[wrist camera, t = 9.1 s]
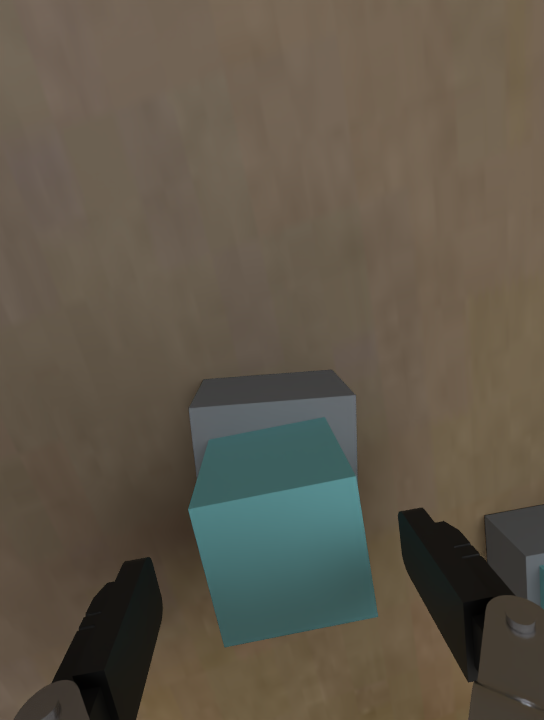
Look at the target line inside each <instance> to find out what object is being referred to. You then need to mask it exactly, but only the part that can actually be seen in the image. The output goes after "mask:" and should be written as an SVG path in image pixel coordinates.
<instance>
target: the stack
mask: <svg viewBox="0 0 544 720" xmlns="http://www.w3.org/2000/svg"><path fill="white" fill-rule="evenodd" d="M485 530H486V546H487V562H488V564H489V565H490V567H491V568H492V569H493V570H494V571H495V572H496V573H497V575H498V576H499V577H500V578H501V579H502V580H503V582H504V583H505V584H506V585H507V586H508V587H509V589H510V590H511V591H512V592H513V593H514V594H515V596H518V597H522V598H525V599H527V600H529V601H532V602H534V603H535V604H537V605H539V606H540V607H541V608H543V609H544V505H539V506H534V507H528V508H523V509H518V510H512V511H507V512H501V513H496V514H491V515H485Z"/></svg>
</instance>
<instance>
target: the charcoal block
mask: <svg viewBox="0 0 544 720" xmlns="http://www.w3.org/2000/svg"><path fill="white" fill-rule="evenodd" d="M189 415H190V424H191V432H192V441H193V450H194V458H195V467H196V476H197V478H198V475H199V471H200V468H201V464H202V461H203V458H204V454H205V451H206V448H207V444H208V441H209V440H210V439H215V438H220V437H226V436H231V435H236V434H241V433H246V432H251V431H256V430H261V429H266V428H271V427H276V426H282V425H287V424H292V423H297V422H302V421H307V420H312V419H317V418H322V417H325V418H326V420H327V422H328V424H329V426H330V428H331V430H332V432H333V434H334V435H335V437H336V439H337V441H338V443H339V445H340V447H341V449H342V451H343V452H344V454H345V456H346V458H347V460H348V462H349V464H350V466H351V468H352V470H353V471H354V473H355V475H356V479H357V434H356V395H355V394H354V393H353V392H352V391H351V390H350V389H349V387H348V386H347V385H346V384H345V383H344V382H343V381H342V380H341V379H340V378H339V377H338V376H337V375H336V374H335V372H334V371H333V370H321V371H308V372H295V373H282V374H269V375H255V376H242V377H229V378H216V379H204V380H203V382H202V384H201V386H200V388H199V390H198V391H197V393H196V395H195V397H194V399H193V401H192V403H191V405H190V407H189ZM357 486H358V479H357Z"/></svg>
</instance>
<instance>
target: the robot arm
mask: <svg viewBox="0 0 544 720" xmlns="http://www.w3.org/2000/svg"><path fill="white" fill-rule="evenodd" d="M398 521H399V530H400V540H401V550H402V557H403V561H404V564H405V567H406V570H407V572H408V574H409V576H410V578H411V580H412V582H413V584H414V585H415V587H416V589H417V591H418V593H419V594H420V596H421V598H422V600H423V602H424V603H425V605H426V607H427V609H428V611H429V613H430V614H431V616H432V618H433V620H434V622H435V623H436V625H437V627H438V629H439V631H440V632H441V634H442V636H443V638H444V640H445V641H446V643H447V645H448V647H449V649H450V650H451V652H452V654H453V656H454V658H455V659H456V661H457V663H458V665H459V667H460V668H461V670H462V672H463V674H464V676H465V677H466V679H467V681H468V682H473V681H474V683H473V688H472V694H471V702H470V710H469V718H468V720H544V609H543V608H541V607H540V606H539V605H537V604H535V603H534V602H532V601H529V600H527V599H525V598H522V597H518V596H515V594H514V593H513V592H512V591H511V590H510V589H509V587H508V586H507V585H506V584H505V583H504V582H503V580H502V579H501V578H500V577H499V576H498V575H497V573H496V572H495V571H494V570H493V569H492V568H491V567H490V565H489V564H488V563H487V562H486V561H485V560H484V558H483V557H482V556H480V555H479V553H478V551H477V550H476V549H475V548H474V547H473V546H471V544H470V542H469V541H468V540H467V539H466V538H465V536H464V535H463V534H462V533H461V532H460V531H459V530H458V529H456V528H454V527H453V526H451V525H449V524H448V523H446V522H444V521H442V522H437V523H435V522H434V521H433V520H432V518H431V517H430V516H429V515H428V513H427V512H426V511H425V510H424V509H423V508H417V509H411V510H406V511H400V512H399V513H398ZM162 612H163V606H162V597H161V593H160V589H159V586H158V582H157V578H156V574H155V570H154V566H153V563H152V560H151V558H150V557H147V558H141V559H136V560H130V561H125V562H124V563H123V565H122V567H121V569H120V571H119V573H118V576H117V578H116V580H115V582H109V583H107V584H106V585H105V586H104V587H103V588H102V589H101V590H100V591H99V593H98V594H97V595H96V596H95V597H94V598H93V600H92V602H91V604H90V606H89V608H88V610H87V612H86V617H84V618H83V620H82V622H81V624H80V626H79V631H77V632H76V634H75V636H74V638H73V641H72V643H71V645H70V647H69V649H68V651H67V653H66V655H65V657H64V659H63V661H62V663H61V665H60V667H59V669H58V671H57V673H56V675H55V677H54V679H53V681H52V683H51V684H49V685H47V686H46V687H44V688H42V689H41V690H39V691H38V692H37V693H35V694H34V695H33V696H32V697H31V698H30V699H29V700H28V701H27V702H26V703H25V704H24V705H23V706H22V708H21V709H20V710H19V712H18V713H17V715H16V716H15V718H14V720H136V717H137V714H138V710H139V706H140V702H141V698H142V694H143V690H144V687H145V683H146V679H147V675H148V671H149V667H150V663H151V659H152V656H153V652H154V648H155V644H156V640H157V636H158V632H159V629H160V625H161V621H162Z"/></svg>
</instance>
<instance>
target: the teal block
mask: <svg viewBox="0 0 544 720" xmlns="http://www.w3.org/2000/svg"><path fill="white" fill-rule="evenodd" d="M188 511H189V514H190V518H191V522H192V526H193V530H194V533H195V537H196V541H197V545H198V549H199V552H200V556H201V560H202V564H203V568H204V571H205V575H206V579H207V583H208V587H209V590H210V594H211V598H212V602H213V606H214V609H215V613H216V617H217V621H218V625H219V628H220V632H221V636H222V640H223V644H224V647H229V646H234V645H239V644H244V643H249V642H254V641H259V640H264V639H269V638H274V637H279V636H284V635H289V634H294V633H299V632H304V631H309V630H314V629H319V628H324V627H329V626H334V625H339V624H344V623H349V622H354V621H359V620H364V619H369V618H374V617H378V613H377V607H376V600H375V594H374V588H373V581H372V575H371V568H370V562H369V556H368V549H367V543H366V537H365V530H364V524H363V517H362V511H361V505H360V498H359V492H358V486H357V479H356V475H355V473H354V471H353V470H352V468H351V466H350V464H349V462H348V460H347V458H346V456H345V454H344V452H343V451H342V449H341V447H340V445H339V443H338V441H337V439H336V437H335V435H334V434H333V432H332V430H331V428H330V426H329V424H328V422H327V420H326V418H325V417H322V418H317V419H312V420H307V421H302V422H297V423H292V424H287V425H282V426H276V427H271V428H266V429H261V430H256V431H251V432H246V433H241V434H236V435H231V436H226V437H220V438H215V439H210V440H209V441H208V444H207V448H206V451H205V454H204V458H203V461H202V464H201V468H200V471H199V475H198V478H197V481H196V485H195V488H194V491H193V495H192V498H191V501H190V505H189V508H188Z"/></svg>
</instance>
